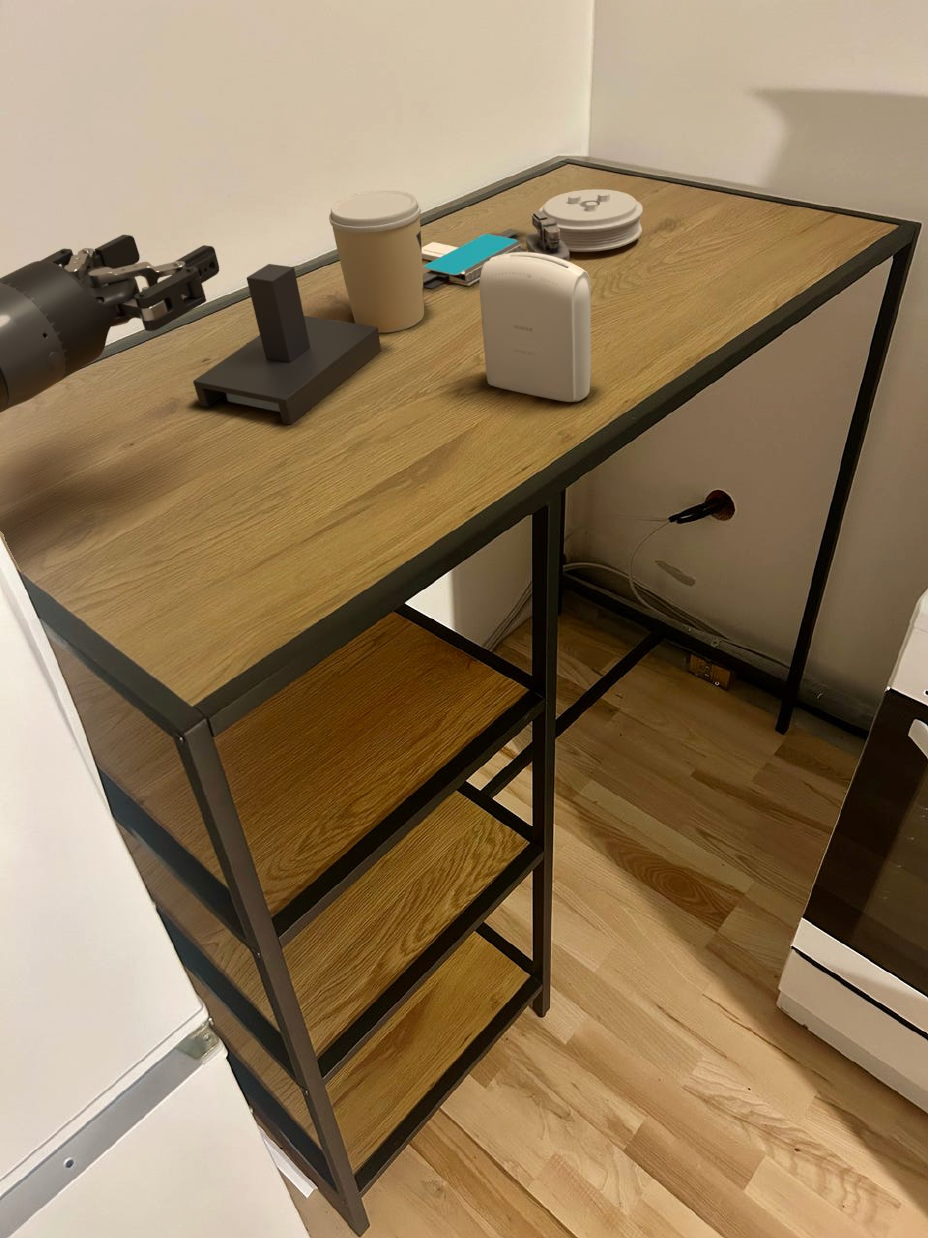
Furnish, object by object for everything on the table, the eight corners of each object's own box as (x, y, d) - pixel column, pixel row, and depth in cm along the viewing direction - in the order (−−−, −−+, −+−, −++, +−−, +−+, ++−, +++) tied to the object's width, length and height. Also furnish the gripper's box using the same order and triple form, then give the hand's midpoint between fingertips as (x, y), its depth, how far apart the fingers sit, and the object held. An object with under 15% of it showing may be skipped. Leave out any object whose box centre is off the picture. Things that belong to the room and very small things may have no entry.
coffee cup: (448, 315, 100) (438, 200, 92) (379, 344, 96) (361, 226, 88) (398, 293, 106) (384, 183, 98) (331, 319, 102) (310, 206, 94)
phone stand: (473, 226, 121) (473, 213, 120) (548, 241, 115) (548, 227, 113) (369, 280, 110) (367, 266, 109) (445, 299, 104) (444, 285, 103)
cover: (291, 424, 85) (265, 314, 78) (199, 405, 89) (167, 298, 82) (381, 350, 95) (365, 246, 88) (295, 336, 100) (274, 236, 93)
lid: (657, 228, 115) (659, 185, 112) (615, 265, 107) (617, 220, 104) (565, 218, 120) (565, 177, 117) (520, 252, 113) (518, 209, 109)
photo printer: (479, 387, 88) (469, 256, 79) (502, 368, 90) (495, 239, 82) (576, 409, 83) (576, 273, 75) (597, 388, 85) (600, 254, 77)
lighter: (576, 327, 96) (576, 228, 89) (545, 333, 95) (542, 234, 89) (551, 298, 102) (550, 203, 95) (522, 303, 101) (518, 209, 95)
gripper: (72, 297, 59) (230, 211, 69) (-73, 272, 65) (93, 196, 75) (111, 402, 64) (253, 307, 74) (-27, 370, 70) (122, 286, 80)
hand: (172, 251), depth 75 cm, fingers open, 8 cm apart
